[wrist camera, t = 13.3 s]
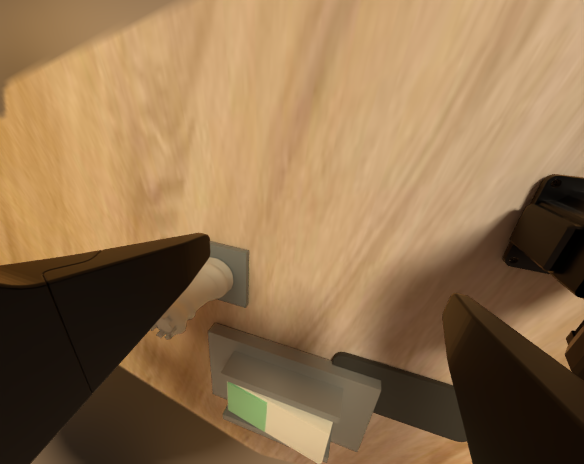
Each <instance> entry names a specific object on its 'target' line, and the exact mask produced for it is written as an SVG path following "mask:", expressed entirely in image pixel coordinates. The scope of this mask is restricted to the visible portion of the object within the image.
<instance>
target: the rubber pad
mask: <svg viewBox="0 0 584 464" xmlns="http://www.w3.org/2000/svg"><path fill="white" fill-rule="evenodd" d="M210 251H211V253H210V258H216V259H219V260H221V261H223V262H225V264H226V265H227V266H228V267H229V268H230V270H231V272H232V275H233V285H232V288H231V289H230V290H229V291H228V292H227V293H226V294H225V295H224V296H223V297H221V298H219V299H218V300H221V301H224V302H228V303H231V304H234V305H238V306H241V307H244V308H246V307H247V305H248V286H249V250H245V249H241V248H237V247H233V246H228V245H224V244H220V243H216V242H212V241H210Z"/></svg>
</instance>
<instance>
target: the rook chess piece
mask: <svg viewBox="0 0 584 464" xmlns="http://www.w3.org/2000/svg"><path fill="white" fill-rule="evenodd" d="M232 285H233V275H232V272H231V270H230V268H229V267H228V266H227V265H226V264H225V262H223V261H221V260H219V259H216V258H210V257H209V259H208V260H207V262H206V263H205V265H204V266H203V267H202V269H201V270H200V271H199V273H198V274H197V276H196V277H195V278H194V280H193V281H192V282H191V284H190V285H189V286H188V288H187V289H186V290H185V291H184V292H183V293H182V294H181V296H180V297H179V298H178V299H177V300H176V301H175V302H174V303H173V304H172V306H171V307H170V308H169V309H168V310H167V311H166V312H165V313H164V315H163V316H162V317H161V318H160V319H159V320H158V321H157V322H156V324H155V325H154V326H153V327H152V328H151V331H153V330H154V329H155V328H156V327H157V328H158V329H159V330H160V331H159V332H158V333H157V334H156V335H157V336H158V337H160V338H162V337H163V336H164V335H165V334H167V335H166V336H165V338H166V339H171V338H172V337H173V336H174V335H176V334H182V333H183V332H184V331H185V329H186V324H187V320H189V319H192V318H194V317H195V313H196V311H197V310H198V309H199V308H200V307H202V306H203V305H204V304H205V303H207V302H209V301H212V300H214V299H219V298H221V297H223V296H224V295H225V294H226V293H227V292H228V291H229V290H230V289H231V288H232Z"/></svg>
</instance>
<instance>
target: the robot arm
mask: <svg viewBox="0 0 584 464" xmlns="http://www.w3.org/2000/svg"><path fill="white" fill-rule="evenodd" d="M554 180H557V183H556V185H554V186H551V182H552V181H554ZM510 240H511V242H510V244H509V246H508V247H507V249H506V251H505V253H504V255H503V258H502V259H503V261H504V262H505V263H506V264H507V265H508V266H512V267H517V268H522V269H527V270H532V271H536V272H541V273H546V274H551V275H552V276H553V277H554V278H556V279H557V280H558V281H559V282H560V283H561V284H563V285H564V286H565V287H566V288H567V289H568V290H570V291H571V292H572V293H573V294H574V295H575V296H577V297H580V298H583V299H584V178H583V177H575V176H566V175H558V174H552V175H549V176H547V177H546V178H545V179H544V180H543V181H542V183H541V185H540V187H539V189H538V191H537V192H536V194H535V196H534V198H533V200H532V202H531V204H530V205H528V206H527V207H526V208H525V210H524V212H523V214H522V216H521V218H520V220H519V222H518V223H517V225H516V227H515V229H514V231H513V233H512V235H511V237H510ZM210 253H211V251H210V238H209V236H208V235H207V234H203V233H194V234H189V235H183V236H178V237H172V238H166V239H161V240H155V241H150V242H144V243H138V244H133V245H127V246H121V247H116V248H110V249H105V250H102V251H101V250H99V251H93V252H87V253H82V254H76V255H70V256H63V257H56V258H50V259H43V260H36V261H29V262H22V263H15V264H8V265H1V266H0V464H30V463H32V462H33V460H34V459H35V458H36V457H37V456H38V455H39V454H40V453H41V451H42V450H43V449H44V448H45V447H46V446H47V445H48V444H49V443H50V441H51V440H52V439H53V438H54V437H55V436H56V435H57V433H58V432H59V431H60V430H61V429H62V428H63V427H64V426H65V424H66V423H67V422H68V421H69V420H70V419H71V418H72V417H73V416H74V414H75V413H76V412H77V411H78V410H79V409H80V408H81V407H82V405H83V404H84V403H85V402H86V401H87V400H88V399H89V398H90V397H91V395H92V393H93V392H95V391H96V390H97V388H98V387H99V386H100V385H101V384H102V383H103V382H104V380H106V378H107V377H108V376H109V375H110V374H111V373H112V372H113V371H114V369H115V368H116V367H117V366H118V365H119V364H120V363H121V362H122V360H123V359H124V358H125V357H126V356H127V355H128V354H129V353H130V352H131V350H132V349H133V348H134V347H135V346H136V345H137V344H138V343H139V341H140V340H141V339H142V338H143V337H144V336H145V335H146V334H147V332H148V331H149V330H150V329H151V328H152V327H153V326H154V325H155V324H156V322H157V321H158V320H159V319H160V318H161V317H162V316H163V315H164V313H165V312H166V311H167V310H168V309H169V308H170V307H171V306H172V304H173V303H174V302H175V301H176V300H177V299H178V298H179V297H180V296H181V294H182V293H183V292H184V291H185V290H186V289H187V288H188V286H189V285H190V284H191V282H192V281H193V280H194V278H195V277H196V276H197V274H198V273H199V271H200V270H201V269H202V267H203V266H204V265H205V263H206V262H207V260H208V259H209V257H210ZM512 257H515V259H514V260H512V261H509V259H510V258H512ZM442 320H443V328H444V337H445V345H446V353H447V360H448V365H449V370H450V374H451V378H452V382H453V386H454V390H455V394H456V398H457V402H458V406H459V410H460V414H461V418H462V422H463V427H464V431H465V435H466V439H467V443H468V447H469V451H470V455H471V459H472V463H473V464H584V320H583V322H582V323H581V324H580V325H579V327H578V328H577V329H576V331H571V332H570V334H569V335H568V336H567V337H566V340H567V343H568V347H567V350H566V353H565V356H566V359H567V361H568V364H569V366H570V369H571V371H572V372H571V371H570V370H569V369H567V368H566V367H564V366H563V365H562V364H560V363H559V362H558V361H556V360H555V359H554V358H552V357H551V356H549V355H548V354H547V353H545V352H544V351H543V350H541V349H540V348H539V347H537V346H536V345H534V344H533V343H532V342H530V341H529V340H528V339H526V338H525V337H524V336H522V335H521V334H520V333H518V332H517V331H515V330H514V329H513V328H511V327H510V326H509V325H507V324H506V323H505V322H503V321H502V320H500V319H499V318H498V317H496V316H495V315H494V314H492V313H491V312H490V311H488V310H487V309H485V308H484V307H483V306H481V305H480V304H479V303H477V302H476V301H475V300H473V299H472V298H470V297H469V296H467V295H463V294H458V293H453V294H452V295H451V297H450V299H449V301H448V303H447V305H446V307H445V309H444V312H443V316H442Z"/></svg>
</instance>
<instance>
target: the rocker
mask: <svg viewBox="0 0 584 464" xmlns="http://www.w3.org/2000/svg"><path fill="white" fill-rule="evenodd" d="M227 394H228V410H229V411H230V412H232V413H234V414H235V415H237V416H239V417H240V418H242V419H244V420H245V421H247V422H249V423H250V424H252V425H254V426H255V427H257V428H259V429H260V430H262V431H264V432H266V433H267V434H269V435H271V436H272V437H274V438H276V439H277V440H279V441H281V442H282V443H284V444H286V445H287V446H289V447H291V448H292V449H294V450H296V451H297V452H299V453H301V454H302V455H304V456H306V457H307V458H309V459H311V460H312V461H314V462H315V463H317V464H322V461H323V457H324V453H325V450H326V446H327V443H328V439H329V435H330V432H331V428H332V424H333V422H331V421H329V420H326V419H323V418H321V417H318V416H316V415H313V414H310V413H308V412H305V411H303V410H300V409H297V408H295V407H292V406H290V405H287V404H284V403H282V402H279V401H277V400H274V399H271V398H269V397H266V396H264V395H261V394H258V393H256V392H253V391H251V390H248V389H245V388H243V387H240V386H238V385H235V384H232V383H230V382H227Z"/></svg>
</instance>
